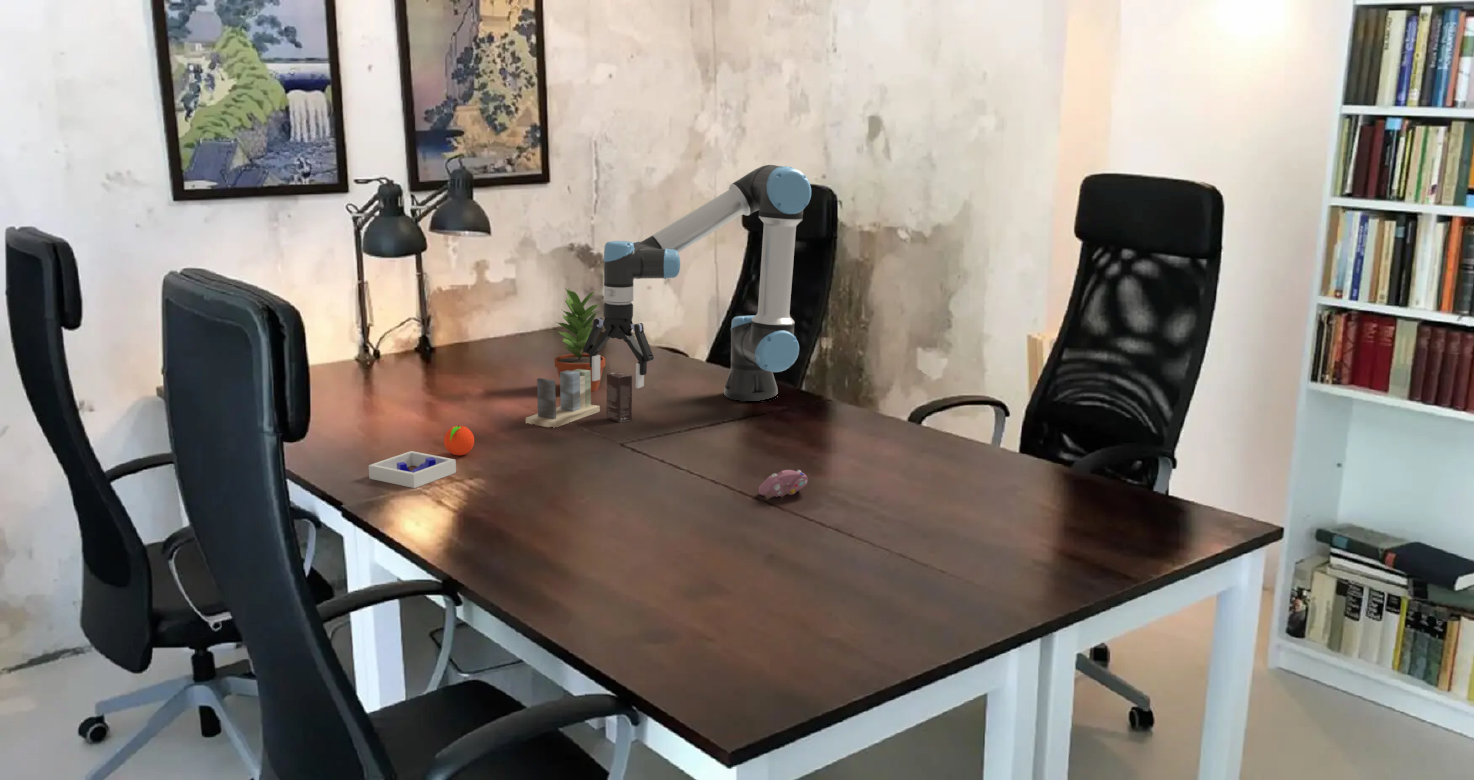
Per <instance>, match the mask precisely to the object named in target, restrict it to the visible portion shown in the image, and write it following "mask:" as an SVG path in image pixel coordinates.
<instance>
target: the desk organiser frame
mask: <svg viewBox="0 0 1474 780" xmlns="http://www.w3.org/2000/svg"><path fill="white" fill-rule="evenodd" d="M430 457H433V458H434V459H436V465H434V466H431V467H428V468H425V469H422V470H420V471H417V472H414V473H413V472H408V471H403V470H398V469H397V463H399V462H404V463H406V464H407V468H409V467H416V468H417V467H419V466H420V464H421V463H425V460H426V458H430ZM456 473H457V462H456V459H454V458H448V457H444V456H439V455H434V454H429V453H424V452H418V451H413V450H410V451H407V452H404V453H401V454H399V455H398V454H397V455H395V456H392V457H389V458H386V459H383V460H381V461H378V462H375V463H372V464H368V478H369V479H370V480H374V481H380V482H384V483H389V484H394V485H398V486H404V487H407V488H411V489H416V488H418V487H421V486H424V485H426V484H429V483H430V484H431V483H432V482H435V481H437V480H441V479H442V478H446V477H449V476H451V475H454V474H456Z"/></svg>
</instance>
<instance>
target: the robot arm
mask: <svg viewBox="0 0 1474 780" xmlns="http://www.w3.org/2000/svg"><path fill="white" fill-rule="evenodd" d="M811 197H812V187H811V184H810V181H809V179H808V177H807V176H806V175H805V174H804V173H803V172H802V171H801V170H799V169H797V168H794V167H791V166H786V165H785V166H783V165H782V166H781V165H775V164H774V165H773V164H766V165H765V164H764V165H761V166H760V167H758V168H756V169H754V170H752V171H751V172H748V173H746V174H745V175H743V176H741V178H738V179H737V180H735V181H733V182H732V183H731V184H729V187H728V190H726V191H725V192H723V193H721V194H720V195H718V196H716V197H714V198H713V199H711V200H709V201H708V202H705V204H703V205H701V206H699V207H698V208H696V209H694V210H693V211H691V212H690V213H688V214H685V215H684V216H683V217H681V218H679V219H677V220H676V221H674V222H672V223H671V224H669V225H667V226H666V227H664V228H662V229H661V230H659V231H657V232H656V233H654V234H652V235H651V236H649V237H647V238H645V239H644V240H642V241H636V242H635V241H634V242H632V241H628V240H610V241H607V242H606V243H605V244H604V249H603V301H604V303H603V317H604V319H603V318H602V317H598V318H594V319H593V321H592V327H593V328H592V330H591V333H590V335H589V337H588V339H587V342H586V344H585V346H584V348H583V349H582V352H584V354H589V355H590V367H591V368H592V381H597V380H600V381H601V379H600V356H601V354H599V352H601V350H602V348H604V346H605V345H606V344H607V343H608V341H609V340H610V339H617V340H623V341H624V342H625V343H626V344H627V345H628V347H629V348H630V350H631V352H632V353H633V355H634V357H635V359H636V360H637V361H638V362H636V363H635V388H636V389H640V388H643V387H644V386H645V375H647V371H648V370H647V367H648V365H647V364H648V362H650V361H653V360H655V359H654V354H653V351H652V350H651V347H650V343H649V342H648V340H647V337H646V334H645V332H644V331H645V330H644V324H643V323H642V322H639V323H634V322H633V317H634V304H633V303H632V302H633V301H634V280H640V279H663V280H666V279H673V278H676V277H677V276H679V273H680V270H681V257H680V254H679V253H680V252H682V251H683V250H685V249H687V248H688V247H690V246H692V245H693V244H695V243H698V242H699V241H700V240H702V239H704V238H706V237H707V236H709V235H711V234H712V233H714V232H715V231H717V230H719V229H720V228H722V227H724V226H726V225H727V224H729V223H731V222H732V221H735V220H736V219H737V218H740V216H742V215H744V216H750V215H752V214H753V213H755V212H757V211H758V219H760V221H761V222H762V223H763V233H762V245H761V247H762V248H761V258H760V259H761V261H760V272H759V273H760V276H759V287H758V289H759V291H758V303H757V304H758V305H757V313H756V314H755V315H739V316H734V317H733V318H732V319H731V327H730V370H729V373H728V377H727V379H726V383H725V385H724V388H723V389H724V391H723V394H724V395H725V396H726V397H728V398H730V399H729V400H732V399H734V400H733V401H736V400H740V401H739V402H745V401H760V400H765V399H769V398H772V397H774V396H776V395H777V394H778V393H779V391H778V385H777V382H776V379H775V376H774V373H782V372H783V371H786V370H787V369H790V368H791V367H792V366H793V365H794V364H795V362H796V361H797V359H798V357H799V354H800V344H799V341H798V340H797V336H795V334H794V333H795V323H796V322H795V320H794V319H793V318H792V317H791V314H790V311H791V297H792V296H791V295H792V286H793V285H792V284H793V274H794V271H793V270H794V258H795V257H794V256H795V247H796V234H797V233H796V232H797V226H798V225H799V224H800V223H801V222H803V216H804V209H806V207H807V206H808V205H809V203H810V200H811ZM603 327H604V329H605V330H604V331H603V333H602V334H601V330H602V328H603ZM600 334H601V337H599V335H600ZM598 337H599V339H598ZM595 343H596V344H595ZM594 344H595V345H594ZM724 395H723V396H724ZM725 396H724V397H725ZM726 397H725V398H726ZM728 398H727V399H728Z"/></svg>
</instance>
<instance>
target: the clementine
mask: <svg viewBox="0 0 1474 780" xmlns="http://www.w3.org/2000/svg"><path fill="white" fill-rule="evenodd" d="M474 436H475V435H474V433H473V432H472V431H471V429H469V428H468V427H467V426H464V425H455V426H452V427H451V428H449V429H448V430H447V431H446V432H445V435H444V438H443V444H444V447H445V449H446V450H447V451H448V453H450V454H452V455H454V456H456V457H458V456H459V457H461V456H464V455H467V454H469V453H470V452H471V450H472V449H473V447H474V445H475V437H474Z"/></svg>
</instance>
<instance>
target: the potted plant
mask: <svg viewBox="0 0 1474 780" xmlns="http://www.w3.org/2000/svg"><path fill="white" fill-rule="evenodd" d="M564 289H565V291H566V294H567V297H568V298H567V297H565V298H566V300H564V301H565V303H566V305H567V307H568V308H569V310H570V311H565V310H563V309H562V308H560V310H561V311H562V312H563V314H562V317H563V319H564V320H565V321H566V323H565V322H557V320H555V323H557V324H558V325H560V326H561V327H563V328H564V329H565V330H567V331H569V332H571V333H568V332H565V331H563V332H562V331H559V330H557V333H558V334H559V335H561V336H562V342H563V346H564V348H565V349H566V350H567V351H569V352H570V353H571V354H564V355H560V356H556V357H555V358H554V367H555V368H556V369H557V373H558V376H559V378H560V372H563V371H567V370H569V371H573V370H576V369H583V370H590V371H591V393H593V392H596V391H598V390H599V387H600V383H601V379H602V375H603V371H604V368H605V366H606V357H604V356H602V355H600V380H597V381H592V368H591V367H590V355H589V354H588V353H585V352H583V348H584V346H585V344H586V342H587V339H588V337H589V335H590V333H591V330H592V328H593V326H592V325H593V321H594V319H595V318H596V316H597V313H598V312H599V310H597V311H596V309H597V307H599V306H600V303H599V304H593V305H590V306H589V307H588V308H586V309H585V307H584V306H585V305H586V304H587V302H589V300H590V298H591V297H592V296H593V294H595V291H596V290H597V289H595V291H593V292H590V293H589V294H587V296H586V297H584V299H583V300H582V301H581V299H580V297H579V295H578V294H577V293H576V292H575V291H572V290H570V288H566V287H564ZM564 313H565V314H564ZM573 334H574V335H575V336H576V337H575V336H574V335H573ZM596 343H597V342H595V344H596ZM595 344H594V345H595Z"/></svg>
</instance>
